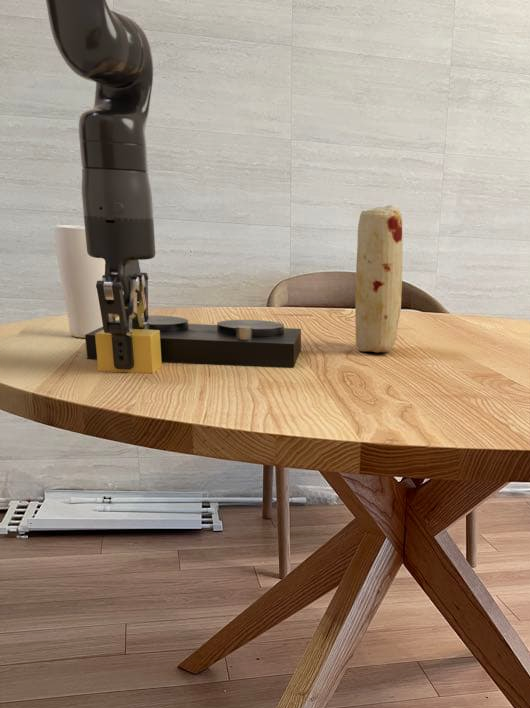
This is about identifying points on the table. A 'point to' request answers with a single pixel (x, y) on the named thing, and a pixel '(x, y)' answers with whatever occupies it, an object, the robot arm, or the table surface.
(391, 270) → the food model
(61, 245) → the drinking glass
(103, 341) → the cheese
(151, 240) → the robot arm
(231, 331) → the stove
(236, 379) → the table surface
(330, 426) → the table surface
